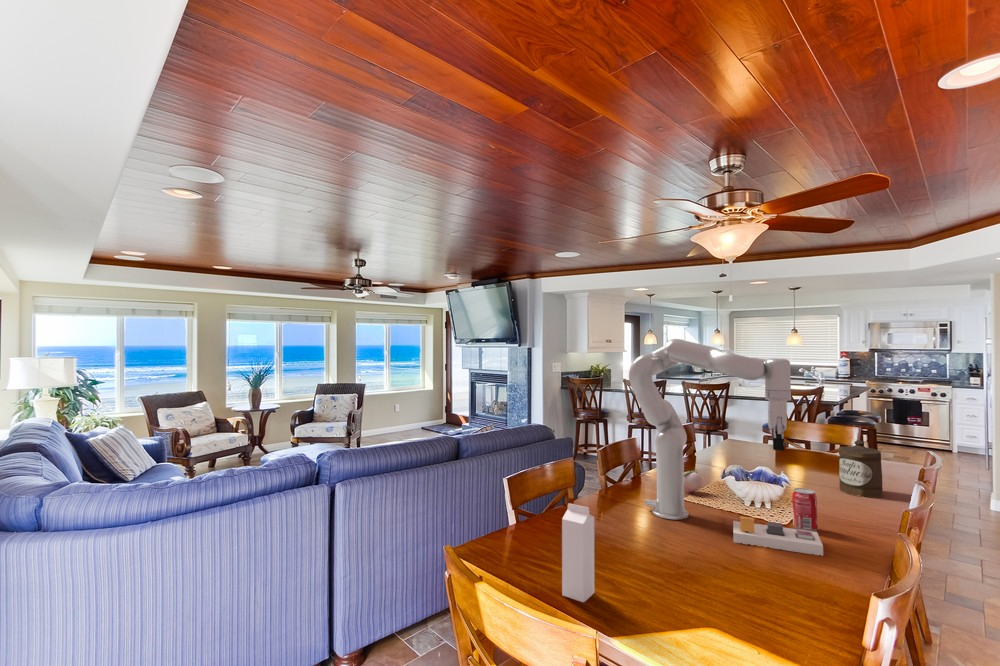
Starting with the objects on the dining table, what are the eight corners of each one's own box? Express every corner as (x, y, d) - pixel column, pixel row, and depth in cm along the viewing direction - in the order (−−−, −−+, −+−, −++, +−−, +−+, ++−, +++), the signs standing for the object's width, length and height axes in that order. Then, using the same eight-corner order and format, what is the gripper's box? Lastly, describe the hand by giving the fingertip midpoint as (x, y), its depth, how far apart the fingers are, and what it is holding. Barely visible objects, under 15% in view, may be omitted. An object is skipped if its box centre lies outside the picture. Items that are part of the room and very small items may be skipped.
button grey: (798, 545, 153) (797, 534, 153) (796, 541, 156) (796, 530, 157) (813, 548, 151) (813, 536, 151) (811, 543, 155) (811, 532, 155)
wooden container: (831, 489, 215) (831, 438, 215) (852, 485, 221) (851, 436, 222) (869, 499, 201) (868, 445, 202) (890, 495, 208) (889, 442, 208)
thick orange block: (740, 538, 158) (740, 517, 158) (740, 537, 159) (740, 516, 160) (754, 540, 156) (754, 519, 156) (754, 539, 158) (754, 518, 158)
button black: (768, 536, 156) (768, 525, 156) (767, 532, 160) (767, 521, 160) (783, 538, 155) (782, 527, 155) (781, 534, 158) (781, 523, 158)
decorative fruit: (695, 497, 204) (695, 472, 204) (676, 492, 210) (676, 469, 210) (706, 492, 210) (706, 469, 210) (687, 488, 216) (687, 465, 216)
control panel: (733, 542, 157) (733, 532, 157) (733, 529, 168) (733, 520, 168) (823, 556, 147) (823, 545, 147) (817, 541, 158) (816, 532, 158)
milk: (573, 586, 128) (573, 499, 129) (595, 593, 124) (594, 504, 125) (561, 595, 123) (561, 505, 124) (583, 603, 119) (583, 510, 120)
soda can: (821, 533, 164) (820, 494, 164) (797, 532, 166) (796, 492, 166) (812, 526, 171) (811, 488, 171) (789, 524, 172) (789, 487, 173)
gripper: (764, 392, 176) (764, 445, 175) (766, 396, 162) (767, 453, 162) (788, 393, 173) (789, 446, 172) (793, 397, 159) (793, 455, 159)
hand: (778, 449), depth 167 cm, fingers closed
